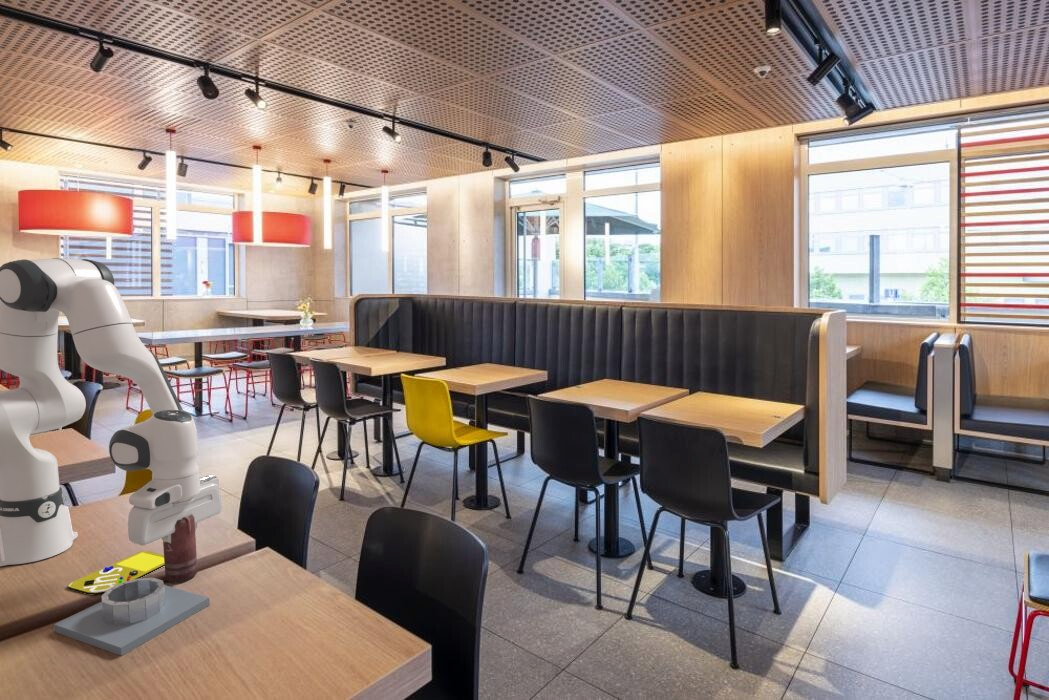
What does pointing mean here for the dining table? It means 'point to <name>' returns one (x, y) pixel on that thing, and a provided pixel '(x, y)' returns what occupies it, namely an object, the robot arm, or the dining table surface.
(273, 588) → the dining table surface
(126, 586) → the ring holder
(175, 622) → the base board
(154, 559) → the game console
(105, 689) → the dining table surface
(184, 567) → the can
